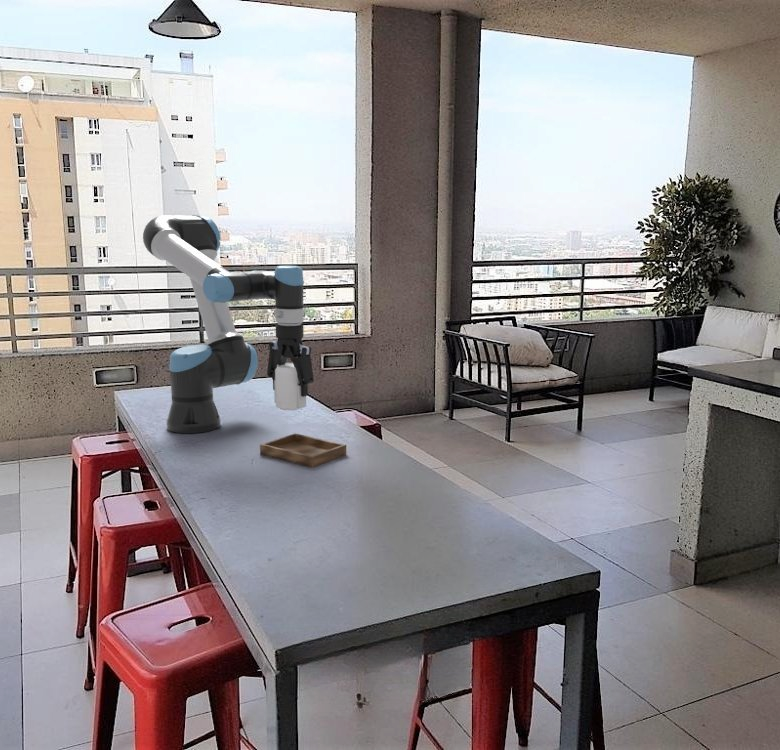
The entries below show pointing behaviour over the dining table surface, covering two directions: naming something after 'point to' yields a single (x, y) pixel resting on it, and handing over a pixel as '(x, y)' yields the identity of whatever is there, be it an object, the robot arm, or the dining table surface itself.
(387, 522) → the dining table surface
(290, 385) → the beverage can
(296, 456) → the walnut tray
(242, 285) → the robot arm
